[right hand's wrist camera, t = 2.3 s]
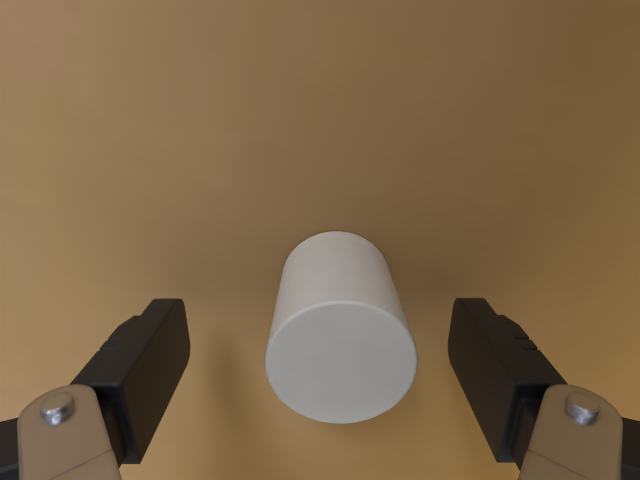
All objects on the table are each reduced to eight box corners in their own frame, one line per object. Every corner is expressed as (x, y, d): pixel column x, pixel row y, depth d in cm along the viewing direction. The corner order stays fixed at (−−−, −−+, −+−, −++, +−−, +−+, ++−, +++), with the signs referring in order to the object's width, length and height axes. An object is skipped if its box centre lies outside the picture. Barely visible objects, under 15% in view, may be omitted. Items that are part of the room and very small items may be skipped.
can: (296, 333, 14) (286, 435, 10) (269, 242, 13) (245, 318, 9) (396, 314, 14) (427, 412, 10) (379, 219, 13) (406, 287, 9)
